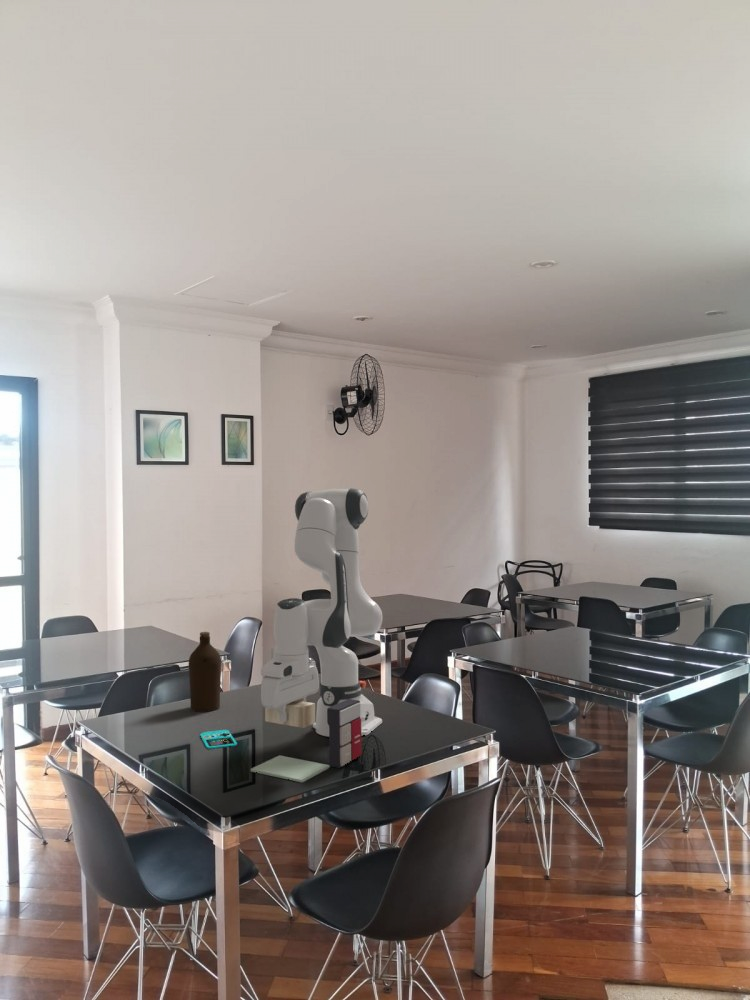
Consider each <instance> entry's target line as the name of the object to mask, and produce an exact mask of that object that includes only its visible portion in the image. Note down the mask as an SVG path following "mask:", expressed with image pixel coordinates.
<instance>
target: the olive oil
mask: <svg viewBox="0 0 750 1000" xmlns="http://www.w3.org/2000/svg"><path fill="white" fill-rule="evenodd" d="M210 634H211V633H210V632H209V631H200V632H199V644H198V646H197V647H195V649H194V650H193V651H192V653H190V656H189V659H188V675H189V695H190V709H191V711H194V712H200V713H203V712H205V713H207V712H212V711H213V712H214V711H216V710H218V709H220V707H221V680H222V679H221V677H222V658H221V654H220V652H219V651H218V650H217V649H216V648H215V647H214V646H213V645H212V644H211V636H210Z"/></svg>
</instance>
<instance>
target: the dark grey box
mask: <svg viewBox="0 0 750 1000" xmlns="http://www.w3.org/2000/svg"><path fill="white" fill-rule="evenodd" d="M360 715H361V714H360V701H359V700H352V699H347V700H345V701H343V702H341V703H338V704H336V705H334V706H331V707H329V708H328V709H327V723H328V725H329V737H328V738H329V739H328V741H329V744H328V745H329V746H328V747H329V749H328V751H329V756H328V758H329V765H330V767H331V768H337V769H341V768H342V767H344V766H346V765H348V764H349V763H351V762H352V760H353V761H354V759H355V760H356V759H358V758H360V757H361V756H362V736H361V718H360ZM359 756H360V757H359ZM357 757H358V758H357ZM350 761H351V762H350ZM347 763H348V764H347ZM345 764H346V765H345Z"/></svg>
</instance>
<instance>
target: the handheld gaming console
mask: <svg viewBox="0 0 750 1000" xmlns="http://www.w3.org/2000/svg"><path fill="white" fill-rule="evenodd" d="M199 735H200V736H201V737H200V739H201V738H202V739H201V740H202V742H203V744H204V746H205V748H206V749H207V748H208V749H209V750H212V749H213V748H214V749H220V748H222V747H223V748H230V747H229V746H231V747H236V746H238V742H237V741H236V740H235V738H234V736H233V735H232V734H231V732H230V730H229V729H220V730H212V731H211V730H210V731H205V732H202V733H200V734H199ZM214 740H216V741H217V742H216V741H214ZM220 740H221V741H222V740H223V741H224V740H227V741H228V740H229V741H230V743H228V742H227V743H220V742H221V741H220ZM210 742H213V743H214V742H215V743H214V744H213V745H211V744H212V743H210ZM224 742H225V741H224ZM214 749H213V750H214Z"/></svg>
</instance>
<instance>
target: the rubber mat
mask: <svg viewBox="0 0 750 1000" xmlns="http://www.w3.org/2000/svg"><path fill="white" fill-rule="evenodd" d="M330 767H331V766H330V764H324V763H319V762H315V761H309V760H305V759H299V758H295V757H288V756H284V755H280V754H279V755H278V756H275V757H273V758H271V759H269V760H266V761H264V762H262V763H261V764H258V765H256V766H254V767H252V768H250V772H252V773H256V772H257V773H256V774H260V775H265V776H271V777H275V778H280V779H285V780H288V779H289V781H294V782H298V783H305V782H306V781H307V780H310V779H311V778H313V777H315V776H317V775H319V774H321V773H322V772H324V771H326V770H329V768H330Z"/></svg>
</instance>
